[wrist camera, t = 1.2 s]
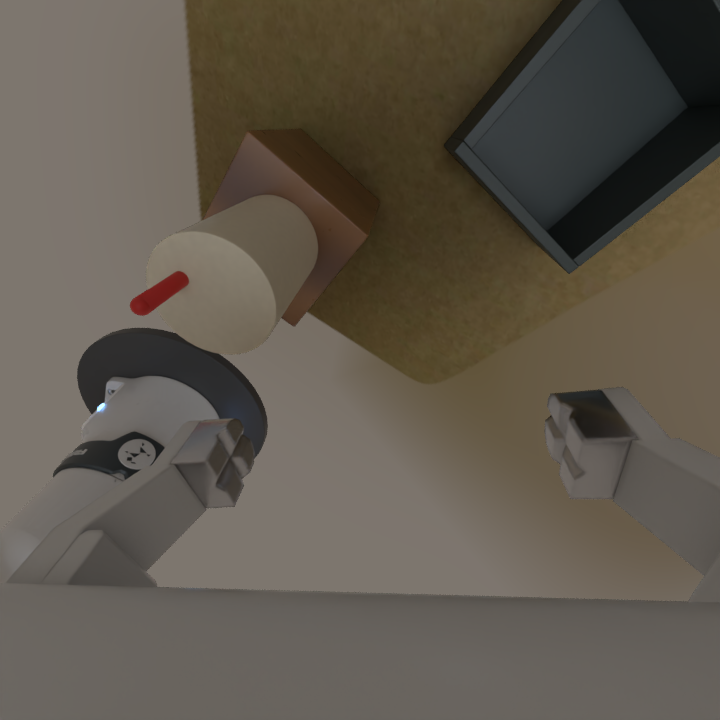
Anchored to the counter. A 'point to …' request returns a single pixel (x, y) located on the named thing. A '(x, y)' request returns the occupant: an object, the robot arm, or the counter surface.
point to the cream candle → (231, 274)
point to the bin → (598, 120)
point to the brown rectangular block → (302, 200)
